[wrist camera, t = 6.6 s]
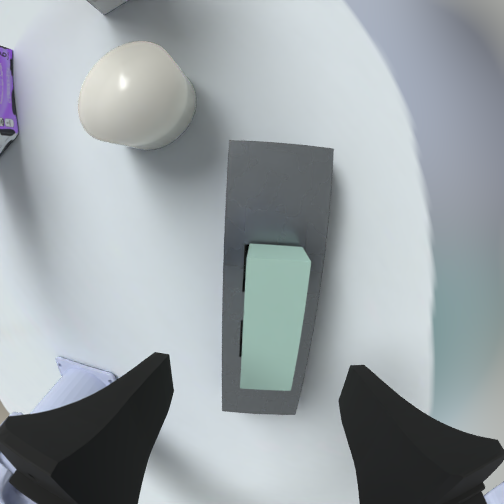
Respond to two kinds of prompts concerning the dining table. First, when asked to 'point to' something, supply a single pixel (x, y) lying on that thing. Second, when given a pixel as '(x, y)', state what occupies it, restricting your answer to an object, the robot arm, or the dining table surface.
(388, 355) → the dining table surface
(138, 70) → the white dome cap
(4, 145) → the candy box
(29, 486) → the robot arm
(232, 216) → the rail
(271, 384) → the green toy bench
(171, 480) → the dining table surface
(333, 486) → the dining table surface
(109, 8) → the coffee box
